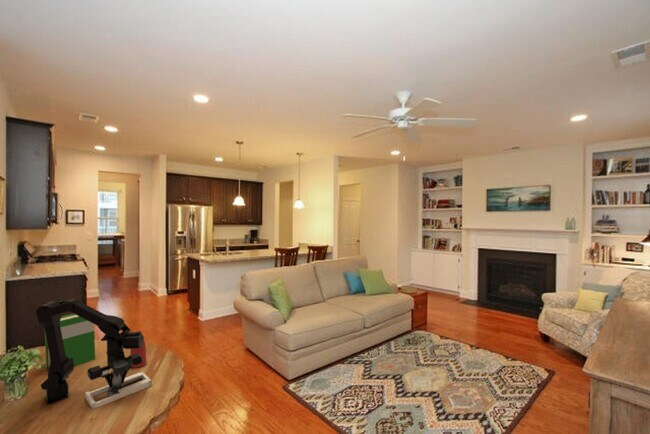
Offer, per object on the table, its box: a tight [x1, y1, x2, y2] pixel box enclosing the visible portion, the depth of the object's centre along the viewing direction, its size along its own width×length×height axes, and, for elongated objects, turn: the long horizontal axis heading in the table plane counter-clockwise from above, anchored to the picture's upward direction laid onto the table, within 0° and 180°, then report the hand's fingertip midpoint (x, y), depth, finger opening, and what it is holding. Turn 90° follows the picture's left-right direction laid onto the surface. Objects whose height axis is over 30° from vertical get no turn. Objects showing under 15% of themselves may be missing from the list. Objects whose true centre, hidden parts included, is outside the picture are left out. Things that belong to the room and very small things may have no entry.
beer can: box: [129, 339, 147, 369], centre depth 158 cm, size 7×7×12 cm
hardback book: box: [44, 313, 96, 371], centre depth 158 cm, size 18×7×24 cm, turn 142°
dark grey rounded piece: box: [106, 370, 127, 398], centre depth 135 cm, size 7×7×9 cm
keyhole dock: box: [85, 371, 152, 410], centre depth 136 cm, size 22×11×2 cm, turn 138°
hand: (116, 385), depth 135 cm, fingers closed on dark grey rounded piece, 4 cm apart
